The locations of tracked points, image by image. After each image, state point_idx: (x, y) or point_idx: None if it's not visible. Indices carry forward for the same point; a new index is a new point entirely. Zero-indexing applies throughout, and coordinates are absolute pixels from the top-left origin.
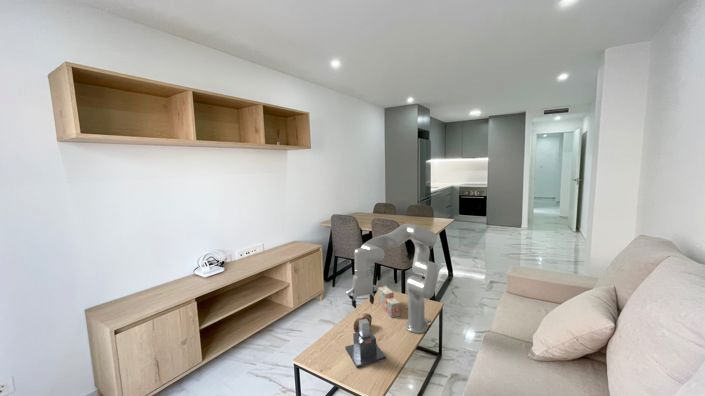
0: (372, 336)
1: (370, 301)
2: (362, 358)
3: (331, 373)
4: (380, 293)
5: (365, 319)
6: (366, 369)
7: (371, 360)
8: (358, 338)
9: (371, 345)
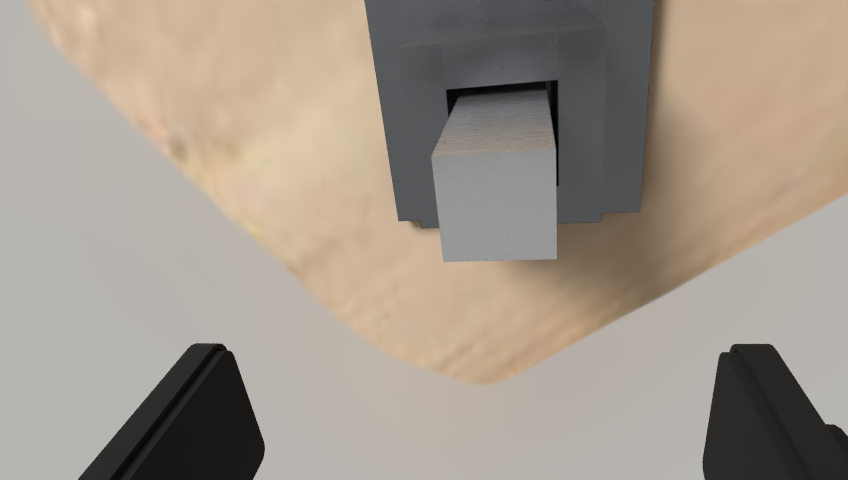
0: (581, 178)
1: (725, 420)
2: None
3: (240, 197)
4: None
5: (537, 169)
6: None
7: None
8: (427, 157)
9: None
